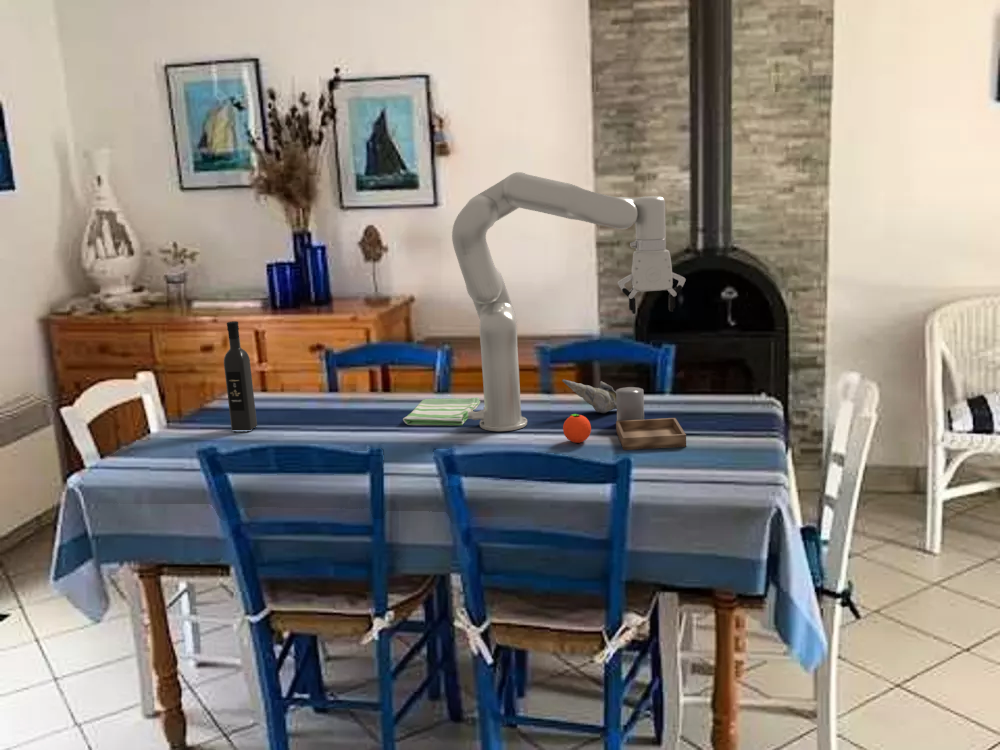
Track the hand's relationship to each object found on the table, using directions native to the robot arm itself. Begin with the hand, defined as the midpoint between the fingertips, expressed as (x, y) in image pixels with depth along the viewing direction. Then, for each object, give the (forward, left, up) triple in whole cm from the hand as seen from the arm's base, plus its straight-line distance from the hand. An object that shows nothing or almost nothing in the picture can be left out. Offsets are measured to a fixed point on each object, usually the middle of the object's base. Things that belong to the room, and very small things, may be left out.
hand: (652, 312), depth 265 cm
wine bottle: (-111, +9, -28) cm, 115 cm away
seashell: (-15, +9, -28) cm, 33 cm away
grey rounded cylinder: (-7, -5, -28) cm, 30 cm away
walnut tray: (-4, -19, -28) cm, 34 cm away
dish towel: (-57, +15, -29) cm, 66 cm away
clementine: (-22, -18, -28) cm, 40 cm away
